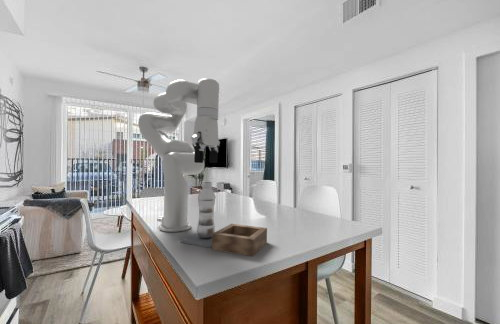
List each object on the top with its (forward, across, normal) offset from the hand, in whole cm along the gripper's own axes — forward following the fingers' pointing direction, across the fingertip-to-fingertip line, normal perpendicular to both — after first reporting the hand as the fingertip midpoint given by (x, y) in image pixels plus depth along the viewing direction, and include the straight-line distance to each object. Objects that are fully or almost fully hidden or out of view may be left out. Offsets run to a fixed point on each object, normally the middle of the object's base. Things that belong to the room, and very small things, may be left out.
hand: (206, 162), depth 86 cm
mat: (+28, 0, 0) cm, 28 cm away
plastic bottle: (+27, -1, 0) cm, 27 cm away
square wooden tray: (+28, 0, +14) cm, 31 cm away
